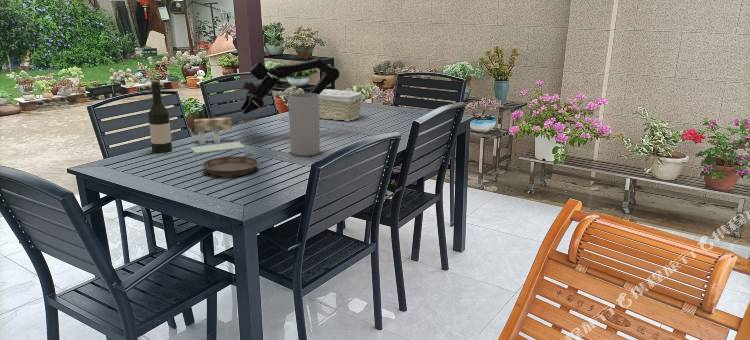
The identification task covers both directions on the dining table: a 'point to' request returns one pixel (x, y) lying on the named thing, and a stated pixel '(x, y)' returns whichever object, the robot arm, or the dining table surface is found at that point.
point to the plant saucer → (230, 166)
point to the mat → (217, 147)
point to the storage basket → (339, 104)
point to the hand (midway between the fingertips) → (242, 111)
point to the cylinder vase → (304, 124)
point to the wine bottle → (159, 123)
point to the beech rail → (213, 123)
